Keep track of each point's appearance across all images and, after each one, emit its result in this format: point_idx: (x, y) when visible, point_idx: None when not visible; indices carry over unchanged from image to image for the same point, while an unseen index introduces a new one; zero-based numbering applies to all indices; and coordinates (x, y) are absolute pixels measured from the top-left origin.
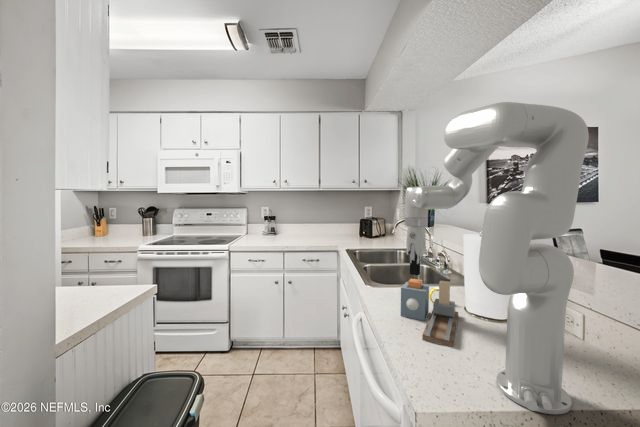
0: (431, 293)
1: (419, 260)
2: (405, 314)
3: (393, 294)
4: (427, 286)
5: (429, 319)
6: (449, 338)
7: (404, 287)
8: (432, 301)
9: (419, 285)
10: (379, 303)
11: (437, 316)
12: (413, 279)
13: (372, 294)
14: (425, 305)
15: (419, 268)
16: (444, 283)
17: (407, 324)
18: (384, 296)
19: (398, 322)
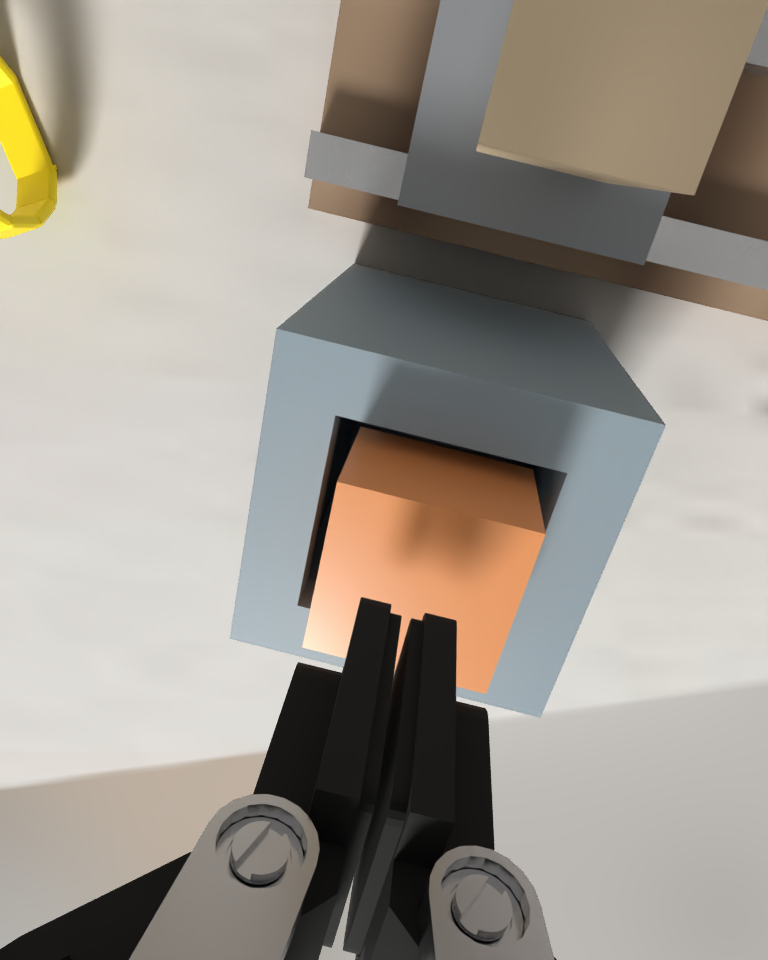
0: (1, 215)
1: (308, 894)
2: None
3: (3, 565)
4: (375, 364)
5: (672, 290)
6: None
7: (516, 678)
8: (55, 194)
9: (539, 523)
10: (279, 673)
11: None
12: (346, 613)
13: (93, 720)
14: (585, 352)
15: (434, 714)
16: (742, 61)
17: (693, 479)
18: (94, 636)
19: (660, 547)
